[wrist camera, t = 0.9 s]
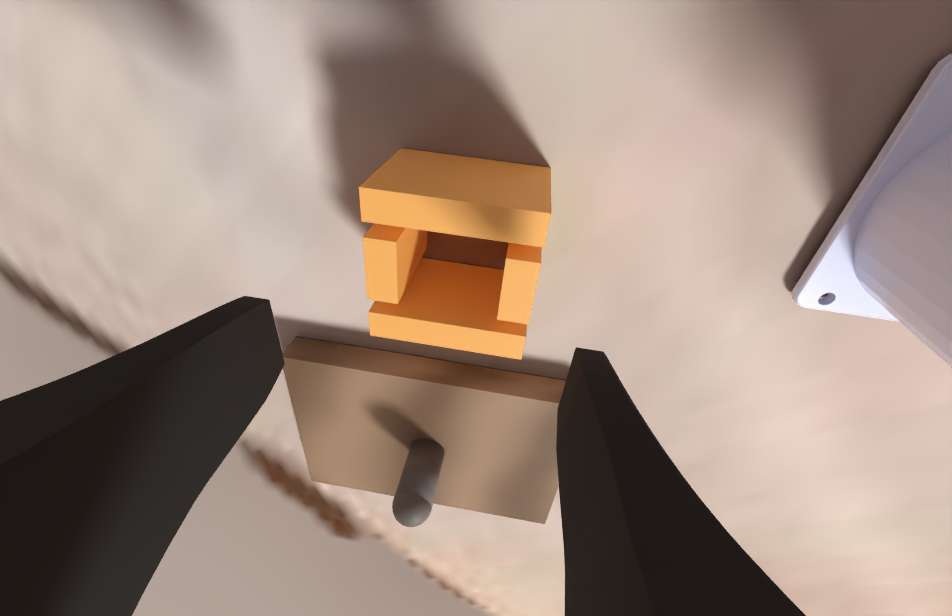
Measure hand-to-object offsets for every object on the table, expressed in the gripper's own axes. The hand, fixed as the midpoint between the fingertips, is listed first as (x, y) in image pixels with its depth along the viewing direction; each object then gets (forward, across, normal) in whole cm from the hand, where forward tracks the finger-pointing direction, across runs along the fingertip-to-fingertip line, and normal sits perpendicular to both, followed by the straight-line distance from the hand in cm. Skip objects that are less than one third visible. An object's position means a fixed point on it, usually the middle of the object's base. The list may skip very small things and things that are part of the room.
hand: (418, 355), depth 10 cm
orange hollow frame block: (+7, 0, 0) cm, 7 cm away
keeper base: (+7, +1, +12) cm, 14 cm away
